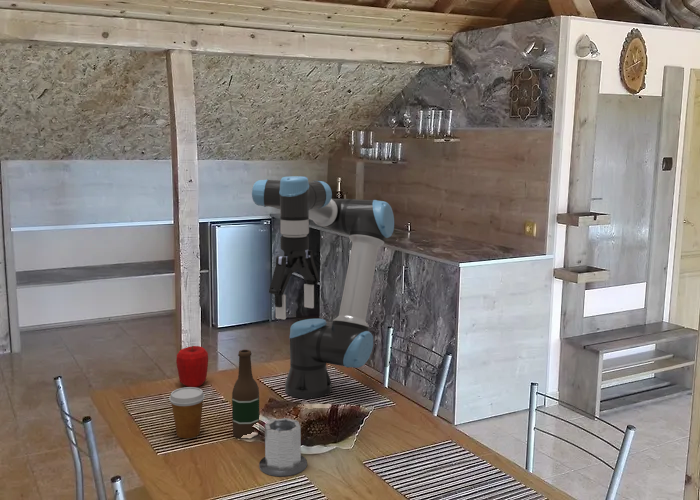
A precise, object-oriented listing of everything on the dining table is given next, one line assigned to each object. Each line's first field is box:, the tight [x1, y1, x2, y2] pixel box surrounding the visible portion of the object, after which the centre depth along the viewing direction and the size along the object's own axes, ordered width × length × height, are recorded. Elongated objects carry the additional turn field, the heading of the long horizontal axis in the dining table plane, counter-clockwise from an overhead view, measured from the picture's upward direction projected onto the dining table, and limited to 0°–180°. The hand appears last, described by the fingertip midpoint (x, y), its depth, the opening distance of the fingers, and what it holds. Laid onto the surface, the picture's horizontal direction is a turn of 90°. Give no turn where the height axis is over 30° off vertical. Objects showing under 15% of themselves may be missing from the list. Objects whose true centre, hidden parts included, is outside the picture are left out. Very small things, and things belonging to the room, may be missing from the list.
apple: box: [175, 345, 209, 388], centre depth 232 cm, size 11×10×14 cm
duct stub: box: [258, 455, 308, 478], centre depth 177 cm, size 12×12×9 cm
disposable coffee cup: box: [168, 386, 206, 439], centre depth 195 cm, size 10×10×12 cm
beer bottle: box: [231, 349, 261, 440], centre depth 194 cm, size 8×8×24 cm
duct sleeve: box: [264, 417, 302, 471], centre depth 177 cm, size 8×8×10 cm
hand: (295, 313), depth 190 cm, fingers open, 13 cm apart
